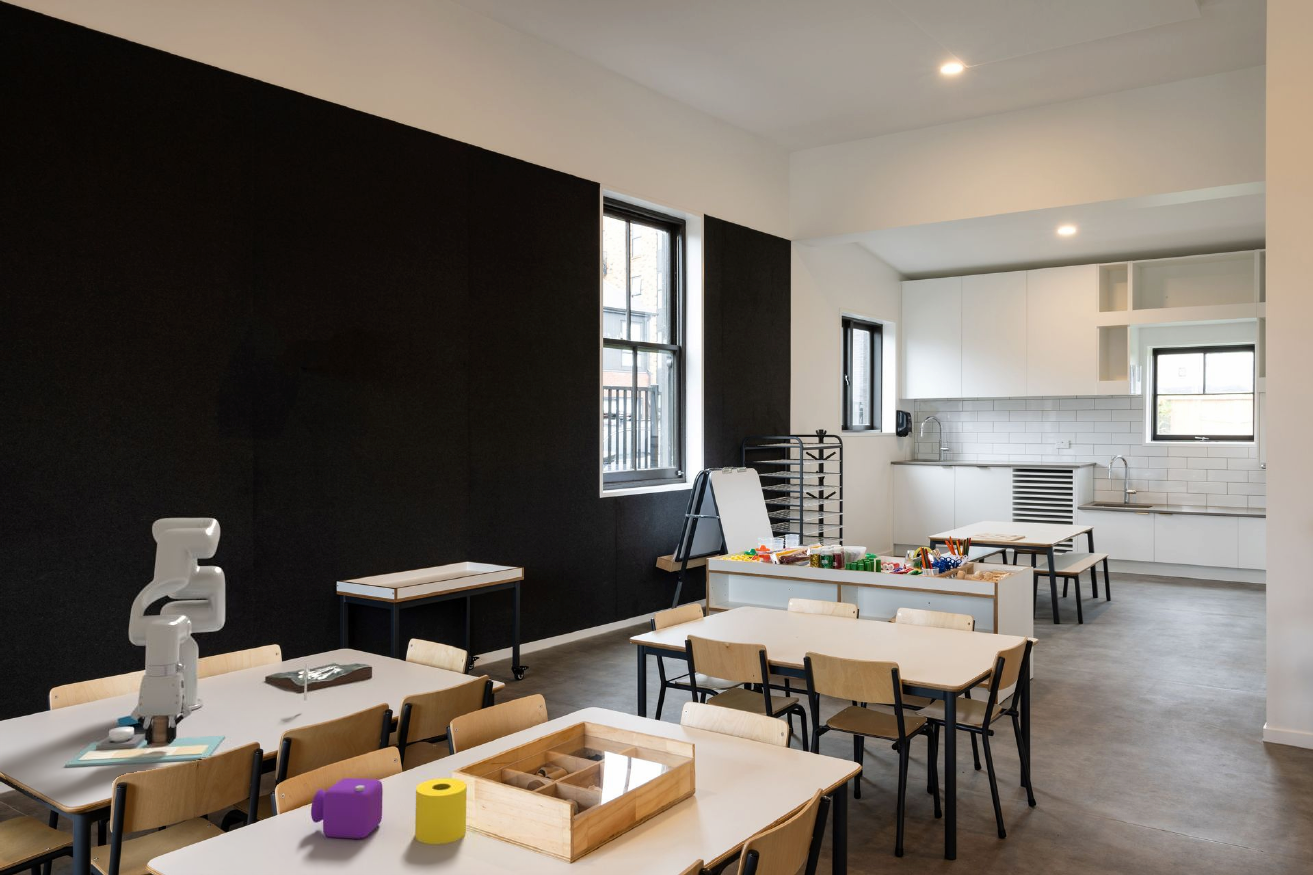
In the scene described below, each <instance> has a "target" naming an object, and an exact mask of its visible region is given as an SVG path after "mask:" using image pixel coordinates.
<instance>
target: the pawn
mask: <svg viewBox="0 0 1313 875" xmlns="http://www.w3.org/2000/svg"><path fill="white" fill-rule="evenodd" d="M152 722H153V741H152V742H151V747H165V746H168V745H170V744H169V743H168V728H169V727H170V722H169V717H168V716H153V721H152Z"/></svg>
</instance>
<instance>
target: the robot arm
mask: <svg viewBox="0 0 1313 875" xmlns="http://www.w3.org/2000/svg"><path fill="white" fill-rule="evenodd" d="M151 528H152V529H151V530H152V536H153V539H154V540H155V542H156V544H157V545H156V554H155V565H154V576H153V580H152V581H151V582H149V583H148V584H147V585H146V586H145V587H144V588H143V589H142V590H141V591H140V592H139V594H137V596H136V597H135V599H134V601H133V603H132V606H131V611H130V618H129V624H128V625H129V626H128V639H129V641H130V642H131V644H133V645H135V646H143V647H144V646H145V671H144V672H145V674H144V675H143V676H142V677H141V682H140V686H139V692H138V698H137V699H138V700H137V701H138V702H137V705H136V707H135V708H134V709H133V711H132V712H131V713H130V714H129V716H130V717H131V718H133V719H135V720H137V721H138V722H139V723H138V724H140V725H141V726H142V728H143V729H144V734H145V741H147V745H150V744H151V742H152V741H153V726H152V722H153V716H168V717H169V728H168V743H169V744H171V743H172V742H173V741H174V739H176V738H177V730H178V729H177V727H178V724H179V723H180V722H181V721H183V720H184V719H185V718H187V717H188V716H190V715H191V714H192V713H193V710H196V709H199V708H201V707H202V706H203V705H204V701H203V700H202V699H200V698H198V690H199V689H198V684H199V645H198V643H197V642H196V640H195V639H194V638H193V637H192V636H191V634H193V633H209V632H217V631H220V630H221V629H222V628H223V627H224V625H225V622H226V580H225V579H226V578H225V577H226V576H225V573H224V571H223V569H222V568H221V567H219V566H214V565H208V566H207V565H206V566H205V565H203V566H202V565H201V566H200V565H198V559H210V558H213V556H214V555H215V554H216V552H217V548H218V545H219V541H220V537H221V527H220V524H219V521H218V520H217V519H215V518H212V517H169V518H167V517H166V518H160V519H158V520H155V521H154V522H153V523H152V527H151ZM166 596H168V597H169V599H170V598H171V599H175V601H171V602H167V603H166V604H165V605H163V607H162V608H161V610H160V612H159V613H160V614H157V615H144V614H145V610H146V609H147V608H148V607H149V606H150V605H151V604H152V603H154V602H156V601H157V600H159V599H161V598H164V597H166ZM176 599H177V601H176ZM197 599H199V600H197ZM200 599H201V600H200ZM181 712H183V713H181Z"/></svg>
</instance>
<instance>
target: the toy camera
mask: <svg viewBox="0 0 1313 875" xmlns="http://www.w3.org/2000/svg"><path fill="white" fill-rule="evenodd" d="M383 793H384V790H383V783H382V780H379V779H374V778H373V779H372V778H370V779H369V778H351V777H349V778H348V777H346V778H343V779H341V780H339V781H337V782H336V783H334V785H332V786H331V787H330V788H328V789H327V790H325V789H323V788H320V789H318V790H317V791H316V793H315V795H314V797H313V798H312V799H313V800H312V802H311V808H310V816H311V820H312V821H313V822H314V823H317V824H318V823H319V822H321V821H322V829H323V830H322V831H323V834H324V836H326V837H329V838H339V839H340V838H342V839H365V838H366V837H367V836H369V835H370V834H371V833H372V832H373V831H374V830H375V829H376V828H377V827H378V826H379V825H380V824H381V822H382V819H383Z"/></svg>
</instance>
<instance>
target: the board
mask: <svg viewBox="0 0 1313 875" xmlns="http://www.w3.org/2000/svg"><path fill="white" fill-rule="evenodd" d="M225 739H226V736H225V735H212V736H211V735H209V736H206V735H205V736H192V737H191V736H189V737H187V736H186V737H176V739H174V741H173V742H172V743H171V744H170V745H168V746H165V747H151V744H150V745H147V741H145V733H143V734H141V733H139V734H134V737H133V738H131V739H128V742H115V741H111V740H109V735H107V736H106V737H104V738H103V739H102V740H101V741H92V742H91V743H89V745H87V746H86V747H85V748H84V749H82V750H81V751H80V752H78V753H77V754H76V755H75V756H74V757H73V758H71V759H70V760H69V761H67V762H66V763H65V764H64V768H75V767H76V768H77V767H90V766H92V767H93V766H105V765H106V766H111V765H112V766H113V765H129V764H147V763H148V764H150V763H165V762H166V763H167V762H168V763H169V762H184V761H186V762H187V761H199V760H198V759H201V758H206V757H208V756H210V757H211V756H212V755H213V753H215V751H216V750H217V749H218V747H219V746H220V745H221V743H222V742H223V741H224V740H225Z"/></svg>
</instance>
